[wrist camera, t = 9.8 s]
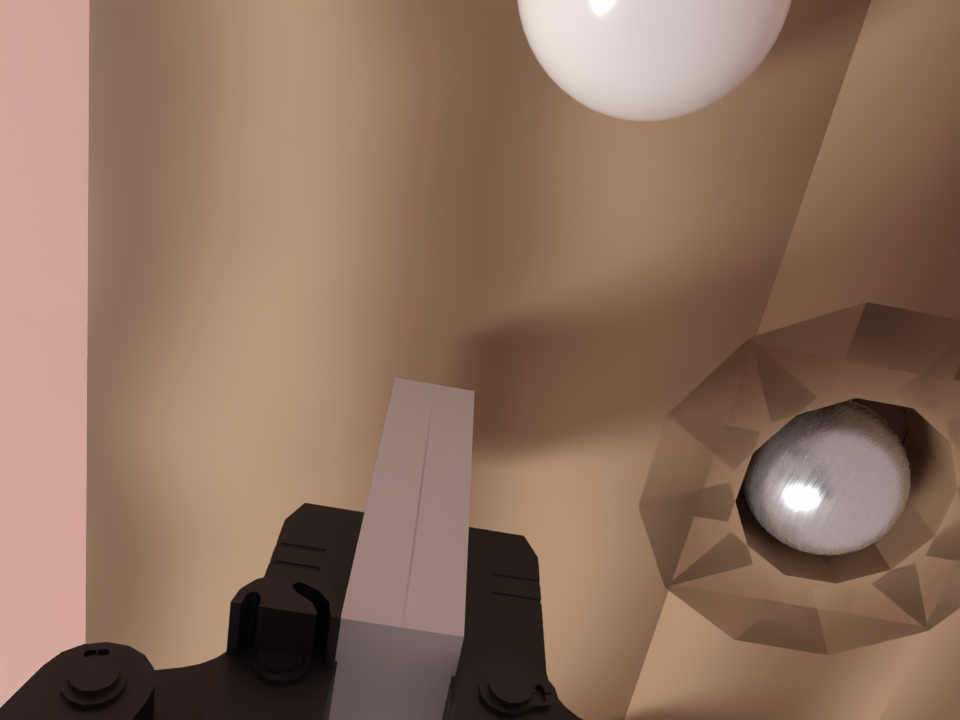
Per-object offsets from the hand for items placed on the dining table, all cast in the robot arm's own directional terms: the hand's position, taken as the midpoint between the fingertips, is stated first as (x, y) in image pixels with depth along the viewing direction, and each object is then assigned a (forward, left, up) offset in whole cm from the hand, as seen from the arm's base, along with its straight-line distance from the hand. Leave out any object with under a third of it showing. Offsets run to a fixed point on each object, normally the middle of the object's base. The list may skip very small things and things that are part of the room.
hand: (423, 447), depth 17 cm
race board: (+4, 0, -4) cm, 6 cm away
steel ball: (+9, 0, -2) cm, 9 cm away
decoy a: (+2, +9, 0) cm, 9 cm away
